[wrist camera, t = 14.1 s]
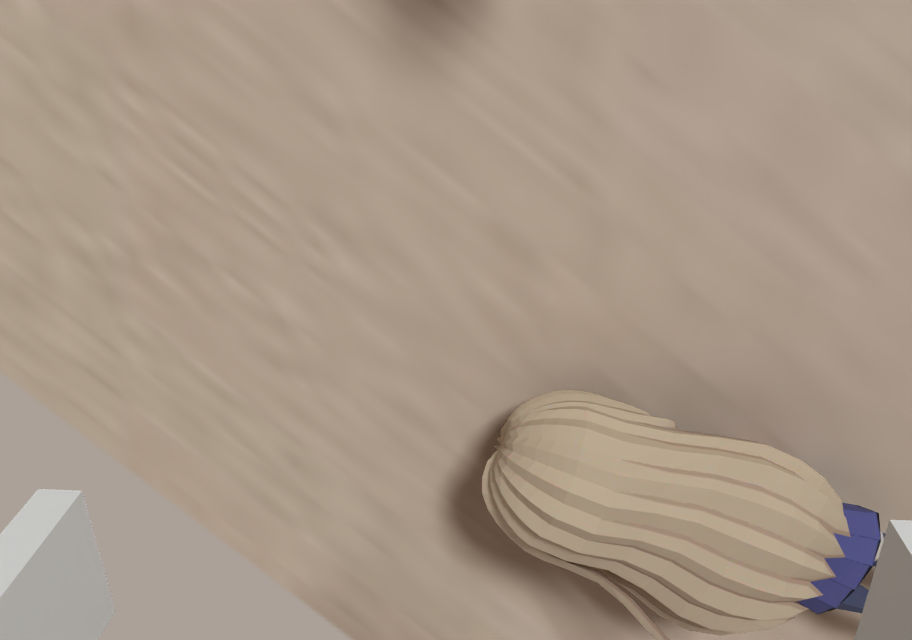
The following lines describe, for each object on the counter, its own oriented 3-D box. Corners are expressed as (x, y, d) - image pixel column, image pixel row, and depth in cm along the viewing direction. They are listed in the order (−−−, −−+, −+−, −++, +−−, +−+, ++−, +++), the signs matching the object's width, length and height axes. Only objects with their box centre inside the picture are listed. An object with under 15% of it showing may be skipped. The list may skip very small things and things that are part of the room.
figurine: (1021, 501, 45) (539, 309, 41) (1130, 619, 37) (549, 397, 33) (895, 636, 50) (453, 476, 46) (968, 765, 42) (445, 587, 38)
